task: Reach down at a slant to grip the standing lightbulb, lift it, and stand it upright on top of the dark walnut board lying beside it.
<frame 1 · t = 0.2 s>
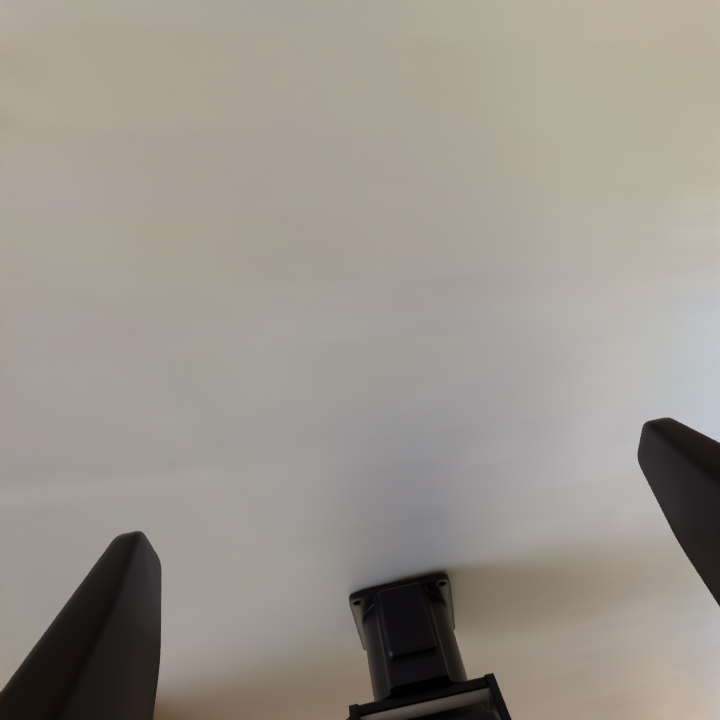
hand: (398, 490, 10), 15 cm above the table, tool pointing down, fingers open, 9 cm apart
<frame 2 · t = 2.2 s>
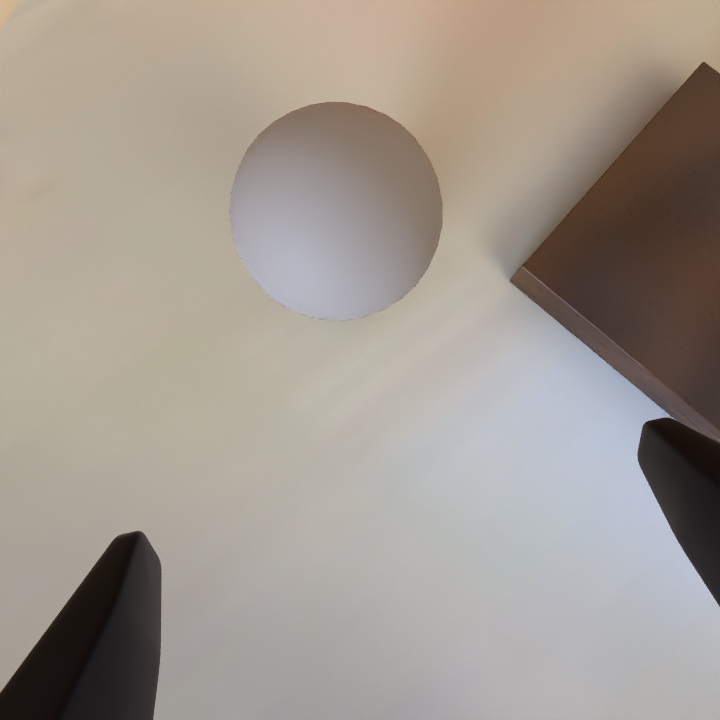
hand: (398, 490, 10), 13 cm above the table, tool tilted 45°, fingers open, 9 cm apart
lightbulb: (344, 291, 25), on the table
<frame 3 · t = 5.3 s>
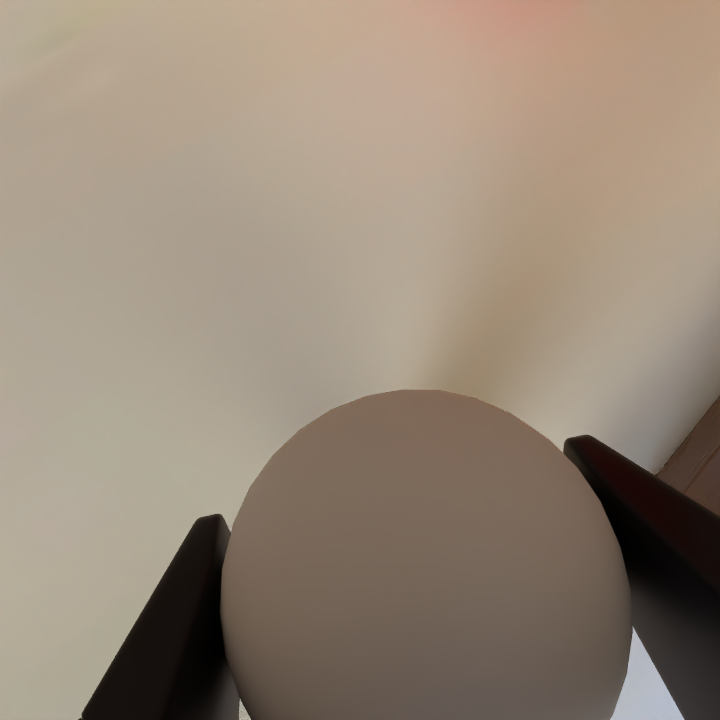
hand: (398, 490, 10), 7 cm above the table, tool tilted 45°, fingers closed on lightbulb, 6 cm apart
lightbulb: (392, 520, 17), on the table, touching gripper
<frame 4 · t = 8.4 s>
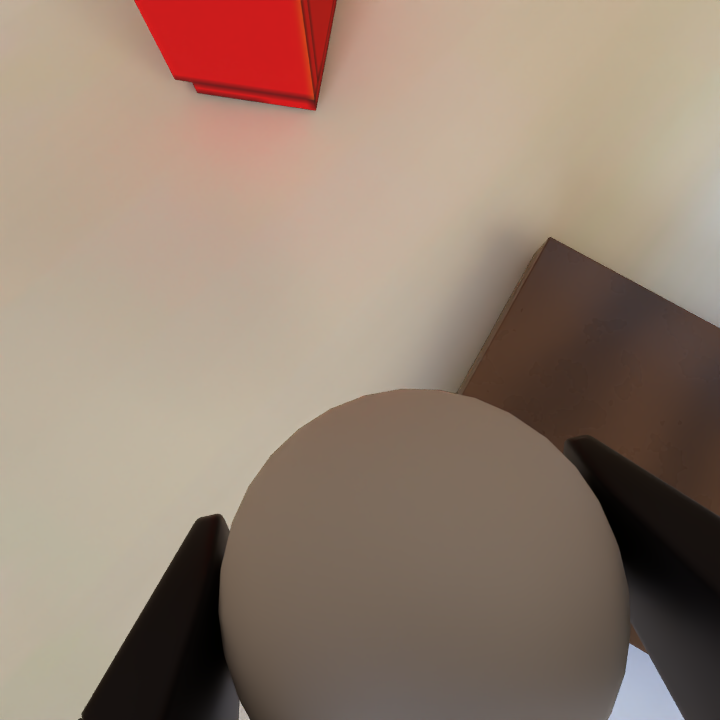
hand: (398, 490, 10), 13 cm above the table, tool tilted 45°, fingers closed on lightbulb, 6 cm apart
walnut board: (664, 484, 23), on the table
french fries container: (265, 14, 26), on the table
lightbulb: (391, 520, 17), point 6 cm above the table, touching gripper
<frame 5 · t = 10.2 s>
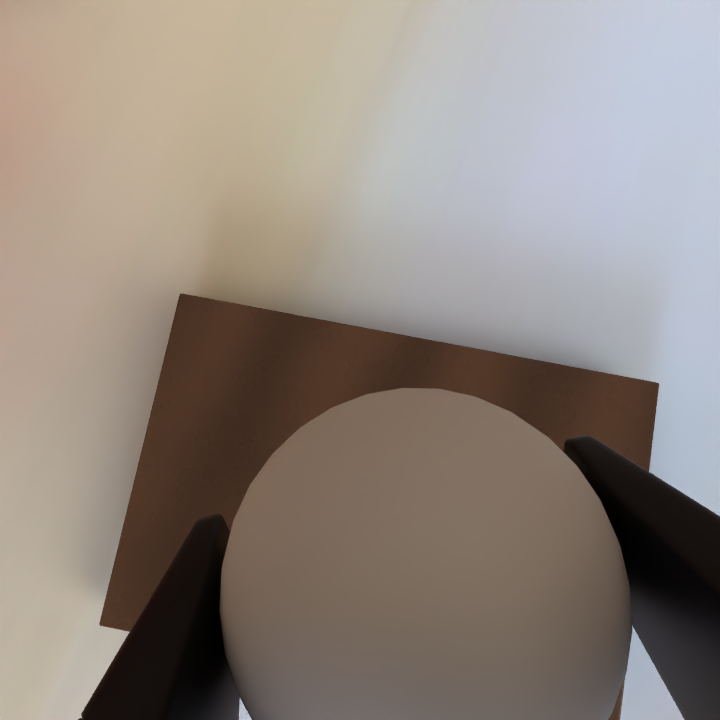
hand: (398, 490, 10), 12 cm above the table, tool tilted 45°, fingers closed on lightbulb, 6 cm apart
walnut board: (384, 495, 22), on the table
lightbulb: (391, 519, 17), point 5 cm above the table, touching gripper
when the fingers open (9 cm above the table, at t = 11.7 s): lightbulb stays where it is, resting on walnut board.
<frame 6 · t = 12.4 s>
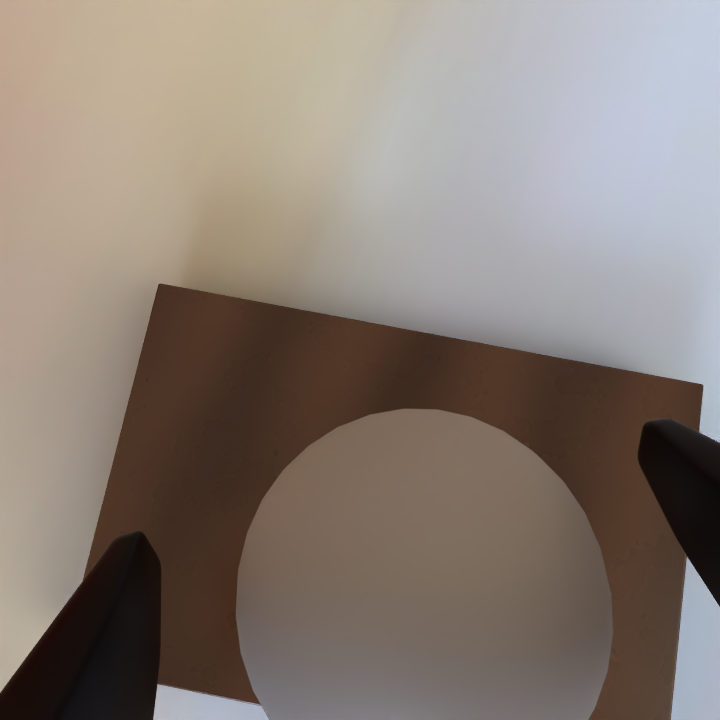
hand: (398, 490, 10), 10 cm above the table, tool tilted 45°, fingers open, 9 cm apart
walnut board: (390, 512, 20), on the table, touching lightbulb
lightbulb: (393, 526, 18), point 2 cm above the table, touching walnut board
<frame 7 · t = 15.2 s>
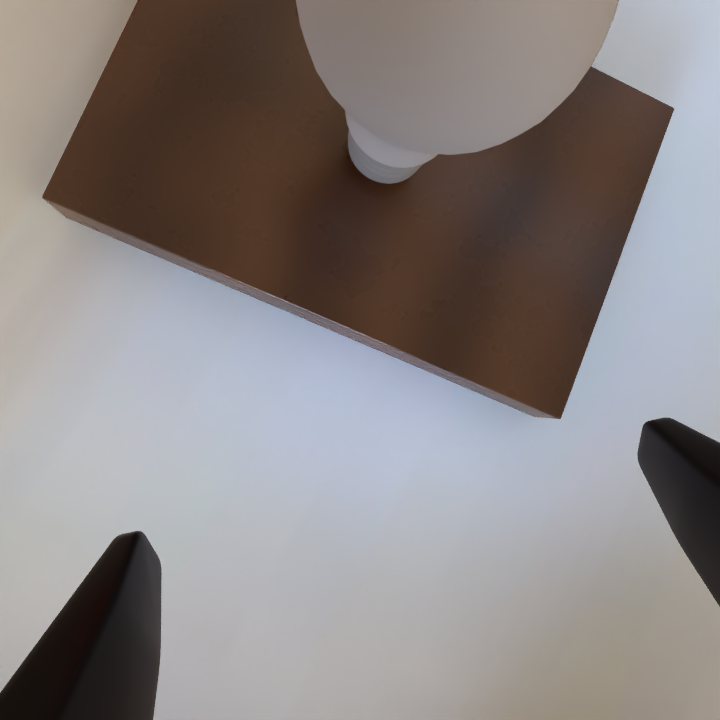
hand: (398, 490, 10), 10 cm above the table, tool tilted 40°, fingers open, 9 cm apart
walnut board: (374, 172, 21), on the table, touching lightbulb
lightbulb: (381, 157, 19), point 2 cm above the table, touching walnut board
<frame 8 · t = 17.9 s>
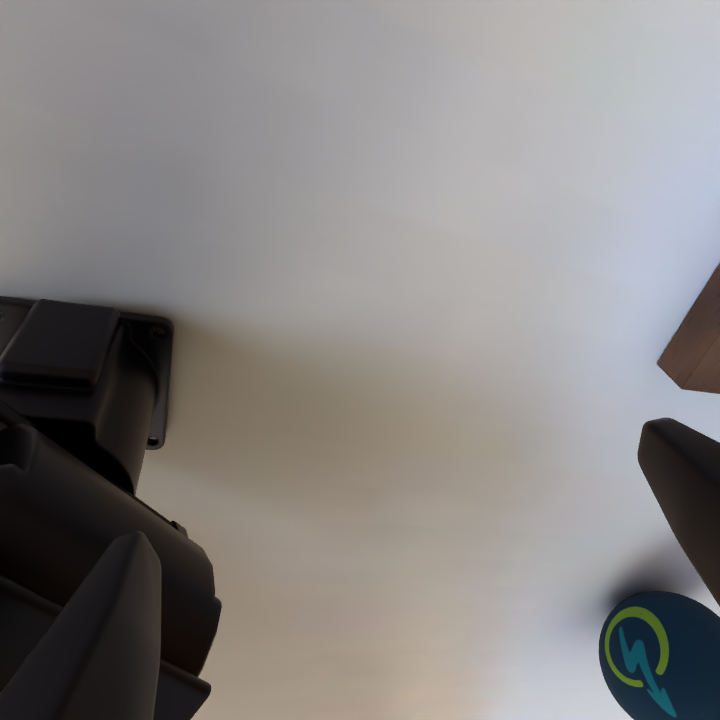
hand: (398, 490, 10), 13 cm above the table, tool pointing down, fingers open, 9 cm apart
christmas ornament: (633, 599, 40), on the table
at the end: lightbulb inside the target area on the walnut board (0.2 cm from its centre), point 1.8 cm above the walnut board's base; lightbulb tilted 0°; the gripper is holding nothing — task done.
